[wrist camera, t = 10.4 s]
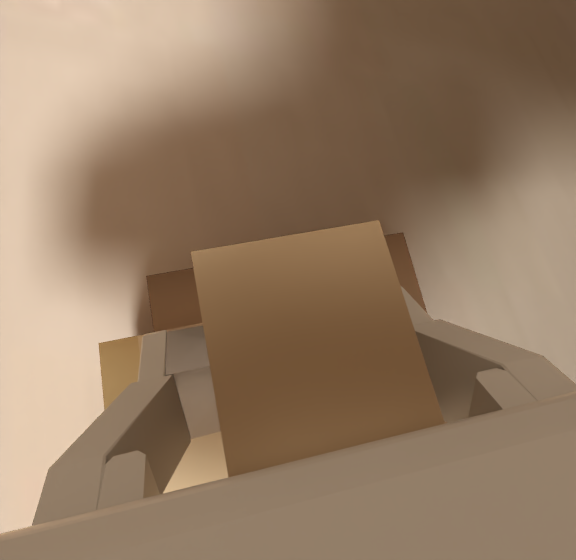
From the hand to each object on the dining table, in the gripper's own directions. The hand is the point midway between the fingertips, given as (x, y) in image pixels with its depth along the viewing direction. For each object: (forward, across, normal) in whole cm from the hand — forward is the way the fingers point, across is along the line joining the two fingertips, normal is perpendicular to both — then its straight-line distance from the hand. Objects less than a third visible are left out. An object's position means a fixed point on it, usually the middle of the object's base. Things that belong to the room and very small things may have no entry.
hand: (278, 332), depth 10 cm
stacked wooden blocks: (+3, +1, +6) cm, 7 cm away
